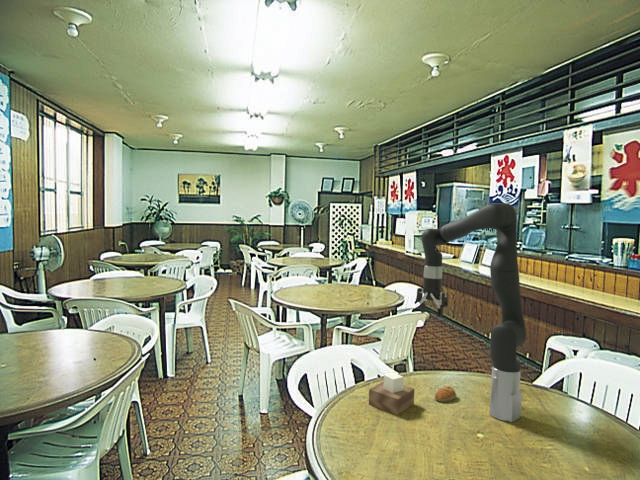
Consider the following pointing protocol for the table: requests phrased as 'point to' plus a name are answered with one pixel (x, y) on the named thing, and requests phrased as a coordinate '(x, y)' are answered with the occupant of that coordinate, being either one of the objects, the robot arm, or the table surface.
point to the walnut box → (391, 398)
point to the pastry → (445, 394)
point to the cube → (393, 382)
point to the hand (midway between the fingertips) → (431, 314)
